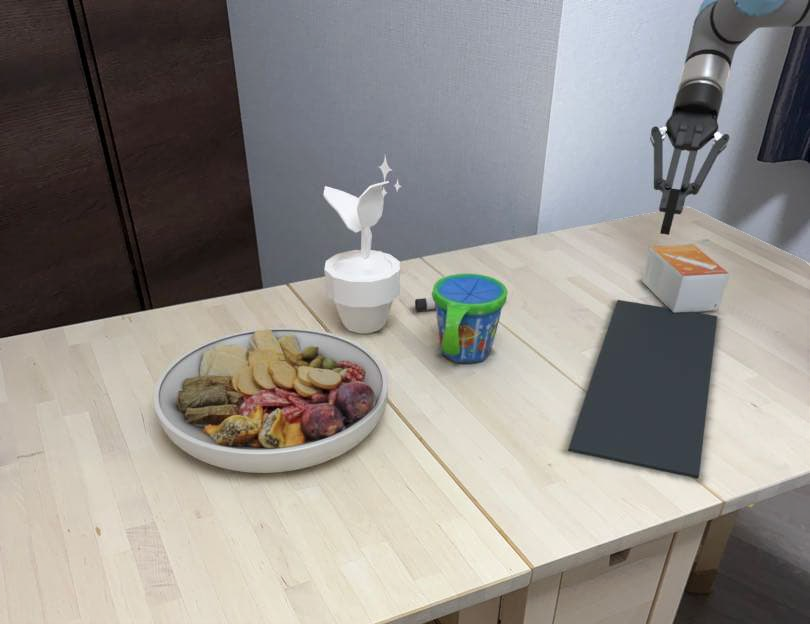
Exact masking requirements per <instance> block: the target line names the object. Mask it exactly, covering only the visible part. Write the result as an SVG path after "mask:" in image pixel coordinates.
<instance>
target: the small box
mask: <svg viewBox="0 0 810 624" xmlns="http://www.w3.org/2000/svg"><path fill="white" fill-rule="evenodd" d="M729 276H730V272H728V271H727V270H725V269H724V268H723V267H722V266H721V265H719V263H717V262H716V261H715V260H713V259H712V258H711V257H710V256H708V255H707V254H706V253H705V252H704V251H702V249H700V248H699V247H697V245H695V244H694V243H690V244H677V245H676V244H675V245H661V246H660V245H658V246H649V247H648V253H647V258H646V262H645V266H644V271H643V275H642V280H641V281H642V283H643V284H644V285H645V286H646V287H647V288H648V289H649V291H651V292H652V293H653V294H654V295H655V296H656V297H657V298H658V299H659V300H660V301H661V302H662V303H663V304H664V305H665V306H666V308H669V309H670V310H671V311H672V312H673V313H681V312H696V313H701V312H707V311H719V309H720V305H721V302H722V299H723V295H724V292H725V289H726V286H727V282H728V278H729Z"/></svg>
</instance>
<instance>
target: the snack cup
mask: <svg viewBox="0 0 810 624" xmlns="http://www.w3.org/2000/svg"><path fill="white" fill-rule="evenodd" d="M508 294H509V293H508V289H507V287H506V285H505V284H504V283H503V282H502V281H500V280H499V279H497V278H494V277H491V276H489V275H484V274H479V273H454V274H450V275H447V276H444V277H442V278H441V277H440V278H439V279H438V280H437V281H436V282H435V283H434V284H433V288H432V292H431V297H432V298H433V300H434V302H435V305H436V310H435V312H436V321H437V330H438V339H439V348H440V352H441V354H442V355H444V356H445V357H446V358H447V359H449V360H451V361H453V362H455V363H457V364H460V363H463V364H464V363H466V364H471V363H477V362H482V361H484V360H485V359H486V358H487V357H488V356H489V355H490V354H491V351H492V348H493V344H494V341H495V339H496V334H497V330H498V326H499V323H500V318H501V313H502V309H503V308H504V306H505V304H506V302H507V298H508Z"/></svg>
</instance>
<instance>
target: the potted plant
mask: <svg viewBox="0 0 810 624" xmlns="http://www.w3.org/2000/svg"><path fill="white" fill-rule="evenodd" d="M386 155H387V154H384V159H383V162H382V164H381V165H379V166H378V168H379V169H380V170H381V172H382V176H383V181H381V182H378V183H374V184H371V185H369V186H368V187H367V188H366V189H365V190H364V191H363V192H362V194H361V195H359V196H358V197H357V196H355V195H352V194H351V193H348V192H346V191H343V190H341V189H337V188H333V187H330V186H327V185H325V186H324V188H323V189H324V190H323V198H324V199H325V200H326V202H327V203H328V204H329V205H330V206H331V207H332V208H333V209H334V211H336V213H337V215H339V217H340V219H341V220H342V222H343V223H344V225H345V227H346V228H347V229H348V230H350V231H351V232H353V233H354V234H357V233H359V232H360V234H361V237H360V238H361V241H360V249H353V250H348V251H343V252H339V253H336V254H334V255H332V256H331V257H330V258H328V259H326V260H325V264H324V268H323V269H324V270H323V271H324V286H325V295H326V296H327V297H328V298H329V299H331V301H333V303H334V305H335V308H336V310H337V313H338V315H339V317H340V320H341V323H342V325H343V326H344V328H346V329H347V330H348V331H350V332H353V333H356V334H372V333H375V332H378V331H380V330H381V329H383V328H384V327H385V325H386V323H387V319H388V317H389V313H390V311H391V308H392V304H393V301H394V300H396V299H397V298H398V297H399V296H400V295H401V289H400V288H401V261H400V260H398V259H397V258H396V257H394V256H393V255H392V254H390V253H386V252H384V251H383V252H382V250H374V249H371V248H372V239H373V233H372V231H371V228H372V227H373V226H375V225H377V223H378V222H379V220H380V219H381V217H382V216H383V210H384V205H385V204H384V202H385V201H384V199H385V196H386V195H387V194H388V193H389V192H387V191H386V189H385V187H384V186H385V185H387V184H389V183H390V181H389V180H386V179H387V175H388V173H389V172H392V171H393V169H392V168H390V167H389V164H388V161H387V156H386ZM393 186H394V188H395V190H396V193H398V191H399V189H400V188H402V187H403V186H402V185H400V183H399V179H397V180H396V182H395V184H393Z"/></svg>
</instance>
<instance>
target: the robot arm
mask: <svg viewBox="0 0 810 624" xmlns="http://www.w3.org/2000/svg"><path fill="white" fill-rule="evenodd" d="M786 27H787V28H789V27H790V28H792V27H810V0H703V1H702V2H701V4H700V6H699V8H698V10H697V14H696V16H695V18H694V21H693V25H692V31H691V35H690V40H689V44H688V49H687V53H686V56H685V60H684V64H683V67H682V71H681V75H680V79H679V83H678V88H677V92H676V95H675V99H674V103H673V106H672V111H671V113H670V114H671V115H670V117H669V118H668V119H667V120H666V122H665V124H664V125H662V126H660V127H658V126H653V127H652V128H651V130H650V137H649V138H650V139H649V140H650V142H651V145H652V147H653V189H654V190H655V191H660V192H661V193H662V195H661V199H660V202H659V207H658V210H659V212H660V213H664V215H663V219H662V223H661V228H660V232H659V234H661V235H670V232H671V229H672V225H673V220H674V216H675V215H681V214H682V212H683V210H684V206H685V203H686V198H687V197H688V196H689V195H693V196H695V195H697V194H699V192H700V190H701V188H702V186H703V184H704V182H705V181H706V179H707V178H708V175H709V174H710V171H711V169H712V168H713V165H714V163H715V162H716V159H717V158H718V156H719V155H720V154H722V152H723V151H724V150H725V149H727V147H728V143H729V140H730V135H729V134H728V133H725V134H723V133H722V132H721V131H719V123H718V119H719V115H720V110H721V108H722V107H721V106H722V104H723V99H724V94H725V91H726V87H727V83H728V80H729V76H730V72H731V69H732V68H731V67H732V64H733V61H734V56H735V52H736V50H737V48H738V47H739V46H740V45H741V44H742V43H743V42H744V41H746V40H747V39H748V38H749V37H750V36H751V35H752V34H753V33H754V32H755V31H756V30H758V29H760V28H762V29H763V28H764V29H765V28H786ZM666 135H667V137H668V139H669V141H670V144H671V146H672V147H673V151H672V156H671V159H670V164H669V168H668V172H667V175H666V179H664V178H663V176H664V175H663V172H664V171H663V170H664V169H663V168H664V167H663V166H664V165H663V164H664V162H663V160H664V159H663V158H664V157H663V155H664V154H663V153H664V152H663V149H664V148H663V143H664V141H665V139H666ZM710 141H712V143H711V149H710V150H709V152H708V155H707V157H706V158H705V160H704V162H703V163H702V166H701V168H700V169H699V171H698V173H697V175H696V177H695V179H694V181H693V182H691V178H692V174H693V171H694V168H695V163H696V159H697V154H698V151H700V150H701V149H703V148H704V147H705V146H706V145H707V144H708V143H709V142H710ZM682 151H687V152H688V157H687V162H686V164H685V167H684V168H685V169H684V173H683V177H682V181H681V184H680V188H673V185H674V182H675V178H676V174H677V170H678V166H679V162H680V158H681V154H682Z"/></svg>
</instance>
